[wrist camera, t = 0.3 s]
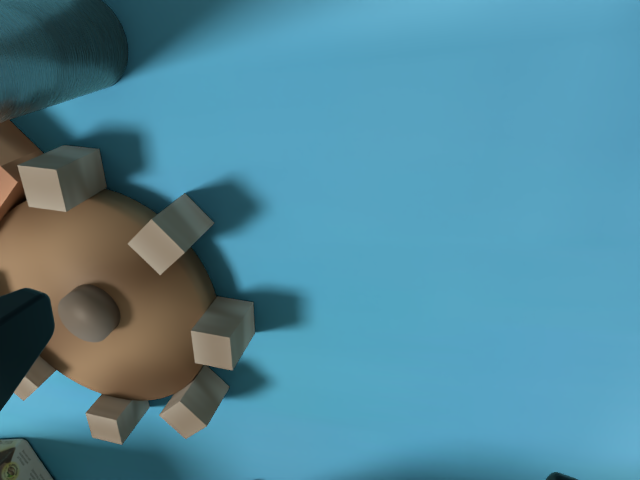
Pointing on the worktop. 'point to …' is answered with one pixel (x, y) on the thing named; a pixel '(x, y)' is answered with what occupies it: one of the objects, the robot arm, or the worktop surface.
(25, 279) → the sprocket
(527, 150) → the worktop surface
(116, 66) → the pin
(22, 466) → the coffee box
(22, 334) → the robot arm
